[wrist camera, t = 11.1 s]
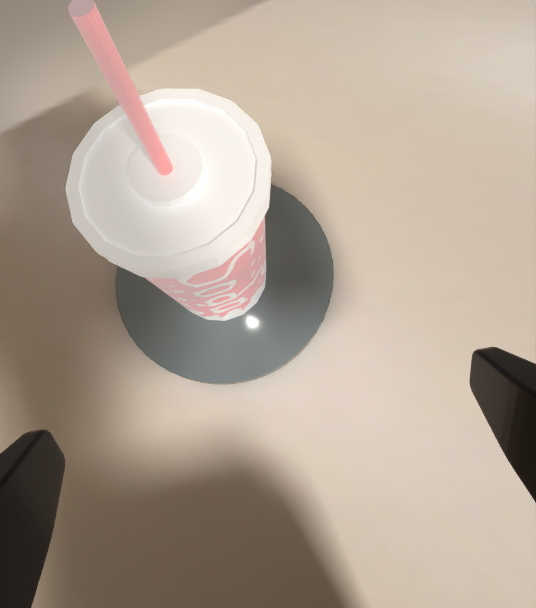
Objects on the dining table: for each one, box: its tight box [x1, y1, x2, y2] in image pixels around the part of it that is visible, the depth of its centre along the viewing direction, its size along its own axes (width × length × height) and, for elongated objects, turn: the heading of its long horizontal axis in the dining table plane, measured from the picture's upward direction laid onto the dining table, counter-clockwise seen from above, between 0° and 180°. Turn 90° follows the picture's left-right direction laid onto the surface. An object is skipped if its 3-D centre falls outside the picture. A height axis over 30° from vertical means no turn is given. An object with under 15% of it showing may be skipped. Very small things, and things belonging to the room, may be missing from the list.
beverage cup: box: [65, 0, 272, 321], centre depth 14 cm, size 6×6×14 cm
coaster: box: [116, 184, 333, 384], centre depth 21 cm, size 11×11×1 cm
